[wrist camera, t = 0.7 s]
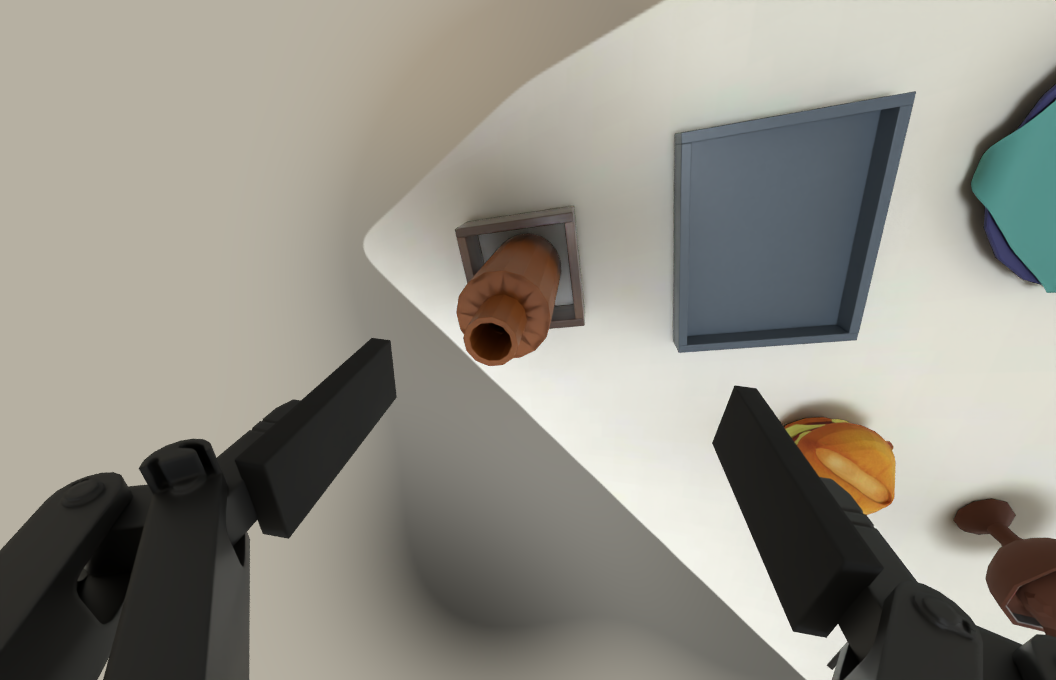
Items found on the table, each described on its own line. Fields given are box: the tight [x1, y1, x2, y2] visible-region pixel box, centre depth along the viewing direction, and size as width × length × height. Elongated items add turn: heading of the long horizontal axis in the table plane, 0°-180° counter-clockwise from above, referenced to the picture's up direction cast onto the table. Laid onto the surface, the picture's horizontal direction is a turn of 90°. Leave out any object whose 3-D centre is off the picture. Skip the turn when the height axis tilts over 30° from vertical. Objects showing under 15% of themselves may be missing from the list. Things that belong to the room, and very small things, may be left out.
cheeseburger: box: [784, 417, 895, 515], centre depth 40 cm, size 10×11×10 cm
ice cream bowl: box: [954, 499, 1056, 637], centre depth 38 cm, size 11×11×15 cm
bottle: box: [457, 234, 561, 366], centre depth 31 cm, size 7×7×17 cm
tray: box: [673, 91, 916, 353], centre depth 33 cm, size 20×16×3 cm
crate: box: [455, 206, 585, 329], centre depth 37 cm, size 11×11×4 cm
